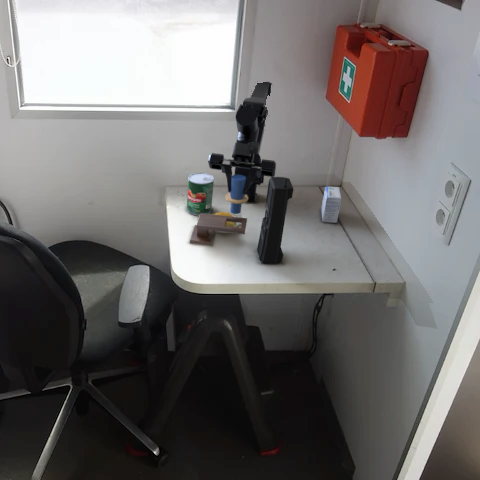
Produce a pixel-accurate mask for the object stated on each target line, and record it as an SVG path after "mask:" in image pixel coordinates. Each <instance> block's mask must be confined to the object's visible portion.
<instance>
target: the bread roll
mask: <svg viewBox="0 0 480 480" xmlns="http://www.w3.org/2000/svg"><path fill="white" fill-rule="evenodd" d="M214 214H215V215H223V216H232V217H235V216H234V214H232V213H231V212H226V211H219V212H216V213H214ZM237 224H238V223H236V222H227V221H226V225H225V226H229V227H237ZM213 231H214V230H213ZM229 233H230V232H222V231H214V234H229Z"/></svg>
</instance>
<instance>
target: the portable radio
mask: <svg viewBox="0 0 480 480" xmlns="http://www.w3.org/2000/svg"><path fill="white" fill-rule="evenodd" d="M293 195H294V187H293V184H292V181H291V179H290V178H289V177H286V176H274V177H270V178H269V180H268V184H267V191H266V199H265V212H264V217H263V218H262V220H261V225H260V232H259V238H258V243H257V247H256V251H257V257H258V260H259V262H260V263H261V264H263V265H279V264H282V262H283V258H284V252H283V249H282V241H283V235H284V229H285V222H286V215H287V208H288V202H289V200H290V199H293Z"/></svg>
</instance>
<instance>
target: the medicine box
mask: <svg viewBox="0 0 480 480" xmlns="http://www.w3.org/2000/svg"><path fill="white" fill-rule="evenodd" d="M341 203H342V193H341V189H340V187H339V186H327V185H326V186H325V188H324V192H323V197H322V202H321V206H320V207H321V208H320V211H321V221H322V223H330V224H332V223H333V224H337V223H338V220H339V214H340V209H341Z"/></svg>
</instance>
